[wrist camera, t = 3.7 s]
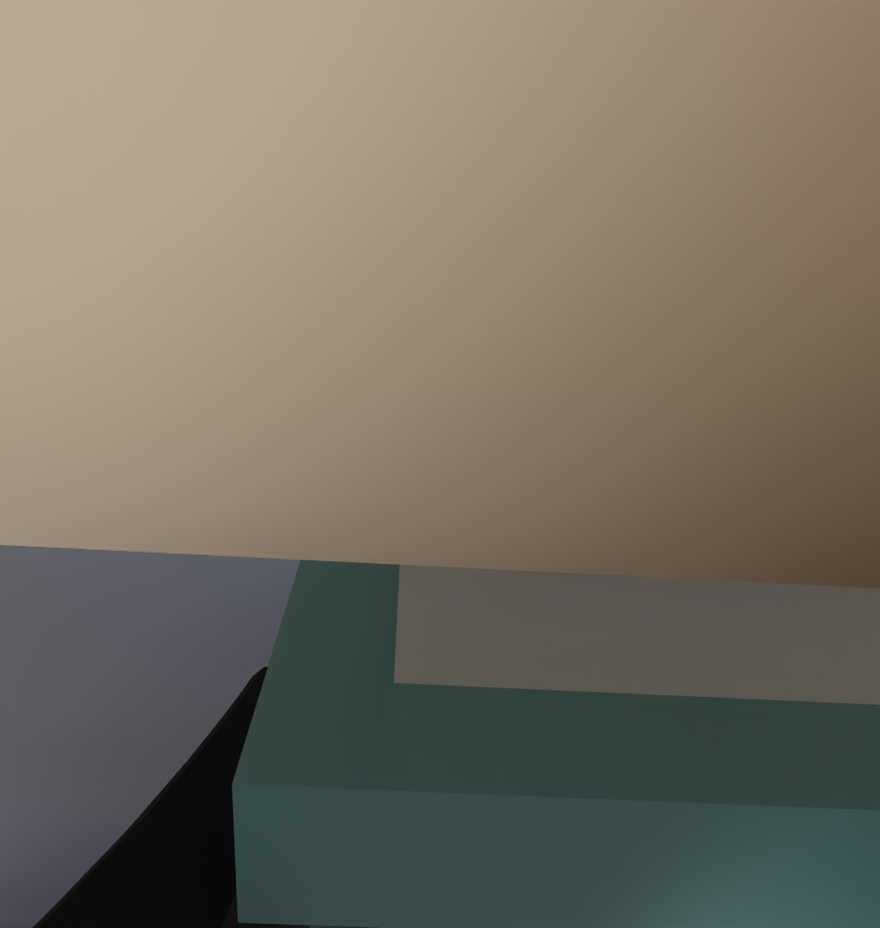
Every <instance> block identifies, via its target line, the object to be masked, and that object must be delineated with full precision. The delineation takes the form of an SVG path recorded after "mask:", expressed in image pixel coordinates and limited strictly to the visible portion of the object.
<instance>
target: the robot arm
mask: <svg viewBox="0 0 880 928" xmlns="http://www.w3.org/2000/svg"><path fill="white" fill-rule="evenodd" d="M267 669H268V667H264V668H262V669H261V670H260V671H259V672H257V673H256V674H255V675H254V676H253V677H252V678H251V679H250V681H249V682H248V684H247V685H246V686H245V688H244V689H243V691H242V692H241V693H240V695H239V696H238V697H237V699H236V700H235V701H234V703H233V704H232V705H231V707H230V708H229V709H228V711H227V712H226V713H225V714H224V716H223V717H222V718H221V720H220V721H219V722H218V723H217V725H216V726H215V727H214V729H213V730H212V731H211V732H210V734H209V735H208V736H207V737H206V739H205V740H204V741H203V742H202V743H201V745H200V746H199V747H198V748H197V750H196V751H195V752H194V753H193V755H192V756H191V757H190V758H189V759H188V761H187V762H186V763H185V764H184V765H183V767H182V768H181V769H180V770H179V771H178V772H177V773H176V775H175V776H174V777H173V778H172V779H171V780H170V782H169V783H168V784H167V785H166V786H165V787H164V788H163V790H162V791H161V792H160V793H159V794H158V795H157V797H156V798H155V799H154V800H153V801H152V802H151V803H150V805H149V806H148V807H147V808H146V809H145V810H144V812H143V813H142V814H141V815H140V816H139V817H138V818H137V820H136V821H135V822H134V823H133V824H132V825H131V826H130V827H129V828H128V830H127V831H126V832H125V833H124V834H123V835H122V836H121V837H120V838H119V839H118V840H117V841H116V842H115V843H114V844H113V846H112V847H111V848H110V849H109V850H108V851H107V852H106V853H105V854H104V855H103V856H102V857H101V858H100V859H99V860H98V861H97V862H96V863H95V864H94V865H93V866H92V867H91V868H90V870H89V871H88V872H87V873H86V874H85V875H84V876H83V877H82V878H81V879H80V880H79V881H78V882H77V883H76V884H75V885H74V886H73V887H72V888H71V889H70V890H69V891H68V892H67V893H66V895H65V896H64V897H63V898H62V899H61V900H60V901H59V902H58V903H57V904H56V905H55V906H54V907H53V908H52V909H51V910H50V911H49V912H48V913H47V914H46V915H45V916H44V917H43V918H42V919H41V920H40V921H39V922H38V923H37V924H36V925H35V926H34V927H33V928H309V925H289V924H261V923H238V912H237V889H236V865H235V842H234V818H233V795H232V783H233V780H234V776H235V773H236V770H237V767H238V763H239V760H240V757H241V754H242V750H243V747H244V744H245V741H246V737H247V734H248V731H249V728H250V724H251V721H252V718H253V714H254V711H255V708H256V705H257V701H258V698H259V695H260V692H261V688H262V685H263V682H264V679H265V675H266V672H267Z"/></svg>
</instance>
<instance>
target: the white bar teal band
mask: <svg viewBox="0 0 880 928" xmlns="http://www.w3.org/2000/svg"><path fill="white" fill-rule="evenodd" d="M232 795H233V818H234V842H235V865H236V889H237V912H238V923H261V924H289V925H318V926H347V927H376V928H880V588H863V587H843V586H823V585H802V584H782V583H762V582H742V581H722V580H701V579H681V578H661V577H641V576H620V575H600V574H580V573H560V572H539V571H519V570H499V569H479V568H459V567H438V566H418V565H398V564H378V563H357V562H337V561H317V560H301V561H300V565H299V568H298V571H297V574H296V578H295V581H294V584H293V587H292V591H291V594H290V597H289V601H288V604H287V607H286V610H285V614H284V617H283V620H282V623H281V627H280V630H279V633H278V636H277V640H276V643H275V646H274V649H273V653H272V656H271V659H270V662H269V666H268V669H267V672H266V675H265V679H264V682H263V685H262V688H261V692H260V695H259V698H258V701H257V705H256V708H255V711H254V714H253V718H252V721H251V724H250V728H249V731H248V734H247V737H246V741H245V744H244V747H243V750H242V754H241V757H240V760H239V763H238V767H237V770H236V773H235V776H234V780H233V783H232Z"/></svg>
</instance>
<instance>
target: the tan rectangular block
mask: <svg viewBox="0 0 880 928" xmlns="http://www.w3.org/2000/svg"><path fill="white" fill-rule="evenodd" d="M0 545H14V546H34V547H54V548H74V549H94V550H115V551H135V552H155V553H175V554H196V555H216V556H236V557H256V558H277V559H297V560H317V561H337V562H357V563H378V564H398V565H418V566H438V567H459V568H479V569H499V570H519V571H539V572H560V573H580V574H600V575H620V576H641V577H661V578H681V579H701V580H722V581H742V582H762V583H782V584H802V585H823V586H843V587H863V588H880V0H0Z"/></svg>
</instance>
